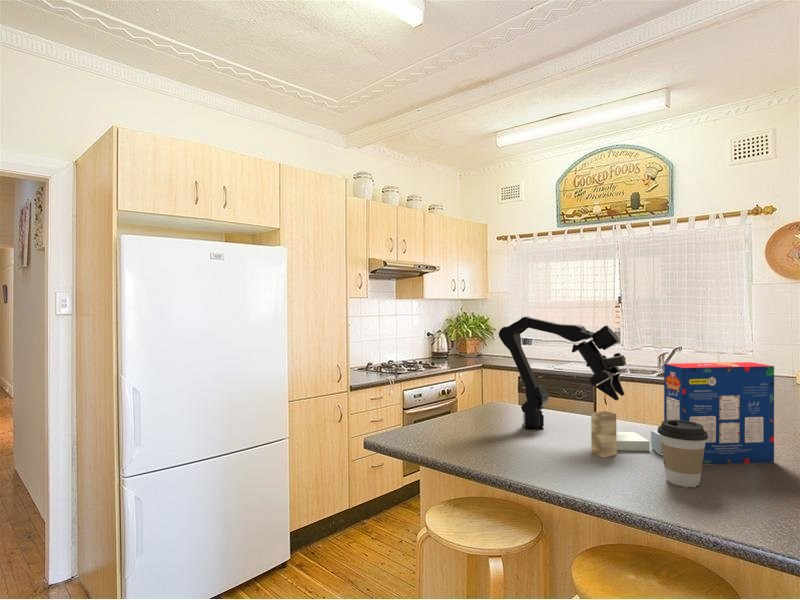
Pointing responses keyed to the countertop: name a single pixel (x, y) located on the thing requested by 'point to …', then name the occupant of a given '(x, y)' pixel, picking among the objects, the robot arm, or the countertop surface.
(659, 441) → the grey cube
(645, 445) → the plinth
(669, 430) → the coffee cup
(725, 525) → the countertop surface
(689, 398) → the pasta box
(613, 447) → the pillar
